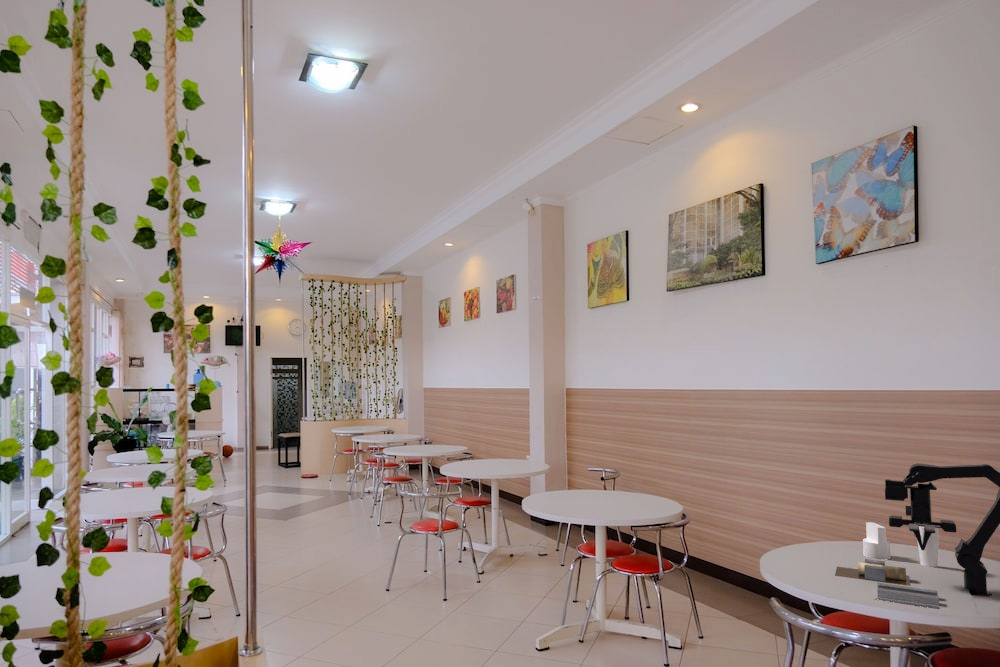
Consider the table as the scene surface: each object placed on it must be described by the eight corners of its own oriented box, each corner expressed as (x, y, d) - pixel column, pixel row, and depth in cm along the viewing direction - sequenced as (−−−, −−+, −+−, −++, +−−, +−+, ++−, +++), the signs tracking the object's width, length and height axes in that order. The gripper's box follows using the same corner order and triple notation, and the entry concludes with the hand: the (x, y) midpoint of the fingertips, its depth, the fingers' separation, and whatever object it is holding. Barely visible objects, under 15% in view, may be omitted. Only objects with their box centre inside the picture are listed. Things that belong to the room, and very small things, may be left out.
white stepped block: (895, 560, 249) (894, 527, 250) (871, 560, 249) (870, 527, 250) (882, 553, 258) (881, 522, 259) (858, 553, 258) (857, 522, 259)
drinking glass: (944, 570, 236) (942, 527, 237) (925, 570, 236) (923, 527, 237) (932, 564, 243) (930, 523, 244) (913, 564, 243) (912, 523, 244)
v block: (937, 600, 206) (936, 590, 206) (939, 609, 198) (939, 599, 198) (877, 591, 214) (877, 582, 214) (877, 600, 206) (877, 590, 206)
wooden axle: (905, 577, 224) (905, 566, 224) (906, 582, 221) (905, 570, 220) (858, 571, 231) (858, 560, 231) (858, 576, 227) (857, 564, 227)
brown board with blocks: (909, 578, 227) (908, 563, 227) (910, 588, 216) (909, 573, 217) (837, 569, 238) (836, 555, 238) (834, 578, 227) (834, 563, 228)
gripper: (952, 500, 224) (954, 547, 223) (887, 496, 233) (889, 541, 232) (955, 506, 214) (957, 556, 213) (888, 501, 223) (890, 548, 222)
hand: (922, 550), depth 220 cm, fingers closed
